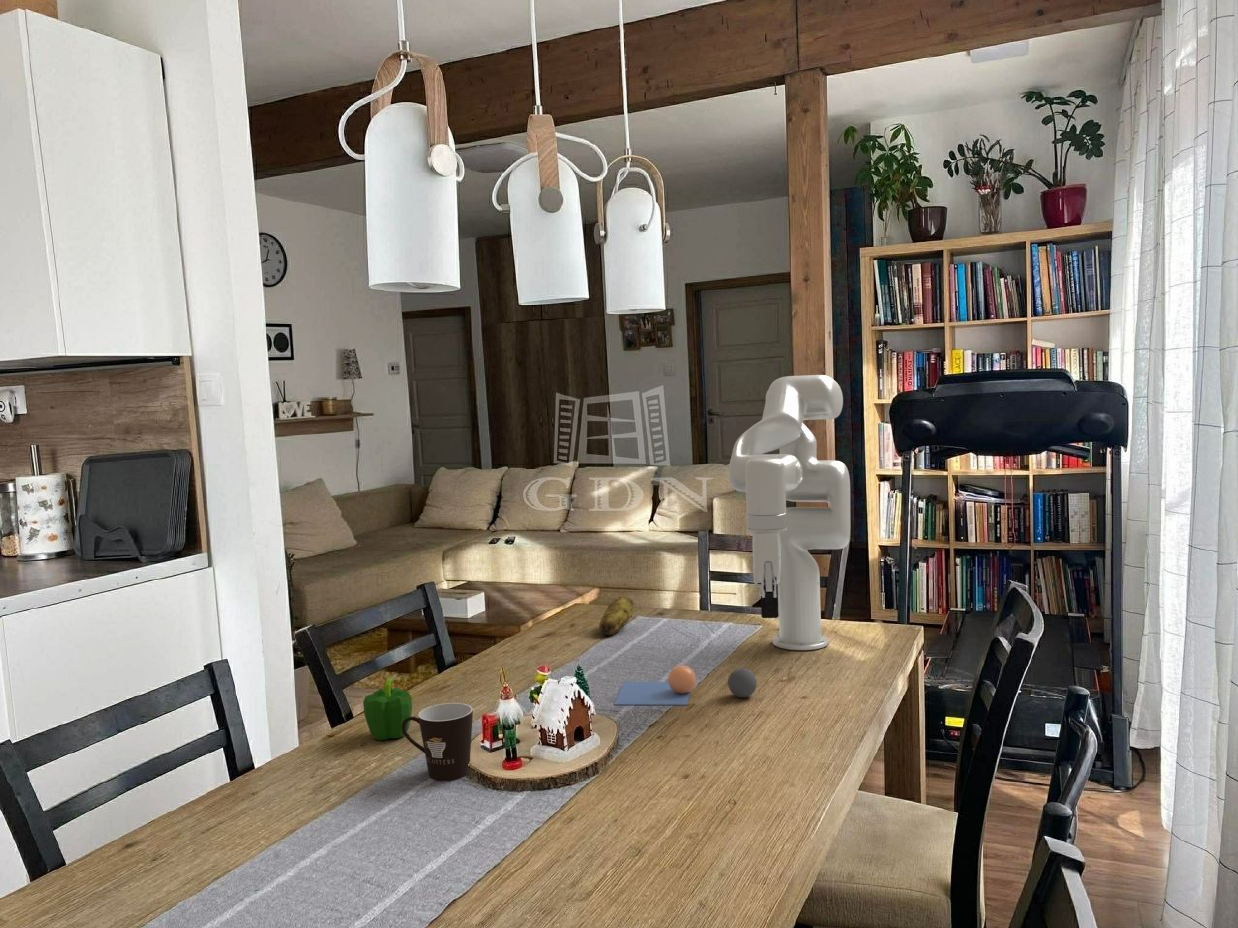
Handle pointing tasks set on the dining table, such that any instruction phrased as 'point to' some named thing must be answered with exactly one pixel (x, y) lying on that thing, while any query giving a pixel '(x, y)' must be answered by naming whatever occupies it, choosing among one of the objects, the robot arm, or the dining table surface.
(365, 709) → the bell pepper
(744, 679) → the dark gray ball
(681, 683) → the object ball
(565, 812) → the dining table surface
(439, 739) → the coffee mug
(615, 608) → the potato
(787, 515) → the robot arm
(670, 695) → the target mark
